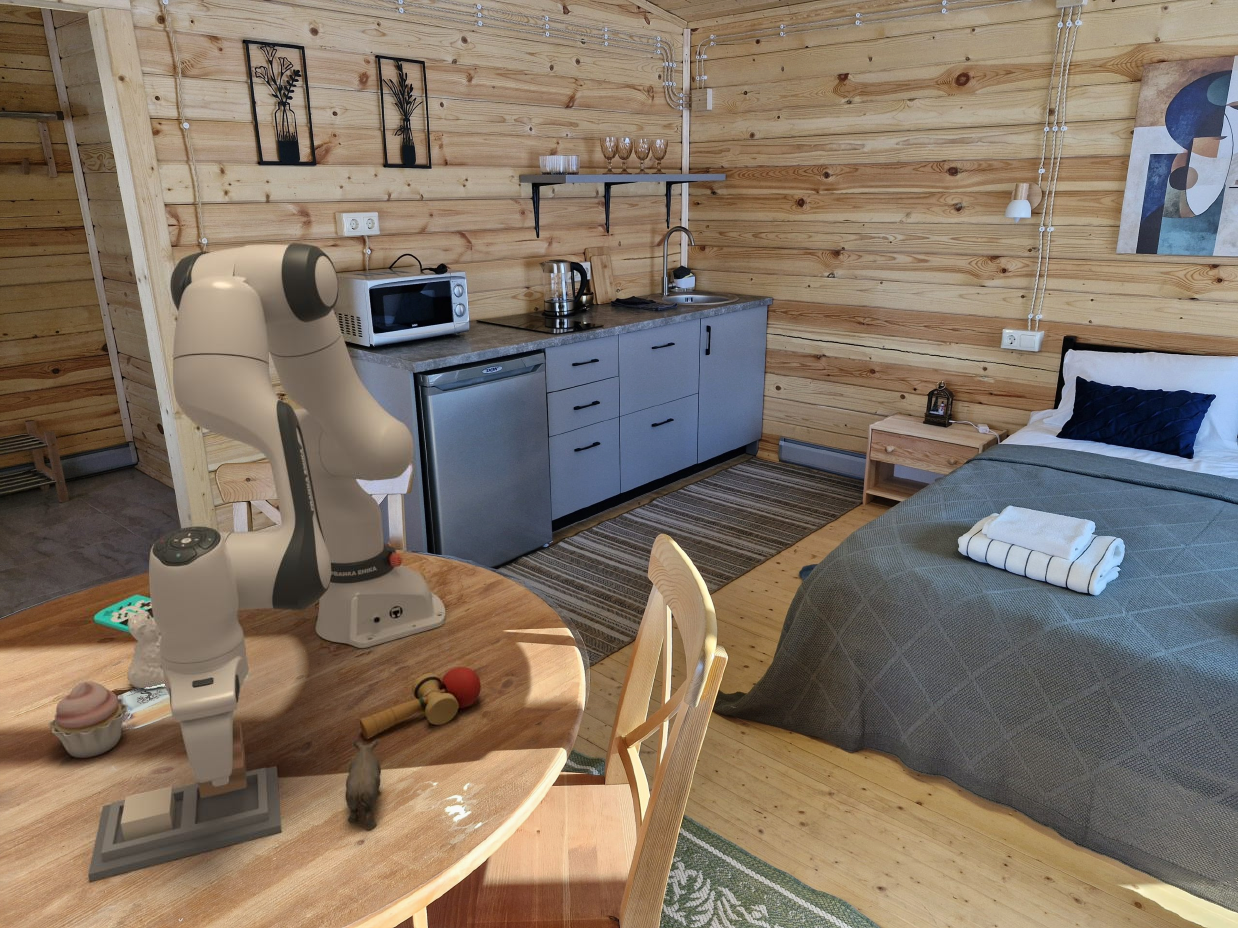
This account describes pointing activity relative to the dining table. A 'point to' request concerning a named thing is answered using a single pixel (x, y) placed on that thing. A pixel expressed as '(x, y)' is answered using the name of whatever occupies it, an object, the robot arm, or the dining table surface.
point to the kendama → (429, 700)
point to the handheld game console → (124, 612)
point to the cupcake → (89, 720)
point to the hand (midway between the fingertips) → (221, 765)
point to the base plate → (183, 823)
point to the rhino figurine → (363, 784)
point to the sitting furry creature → (145, 652)
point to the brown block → (238, 769)
